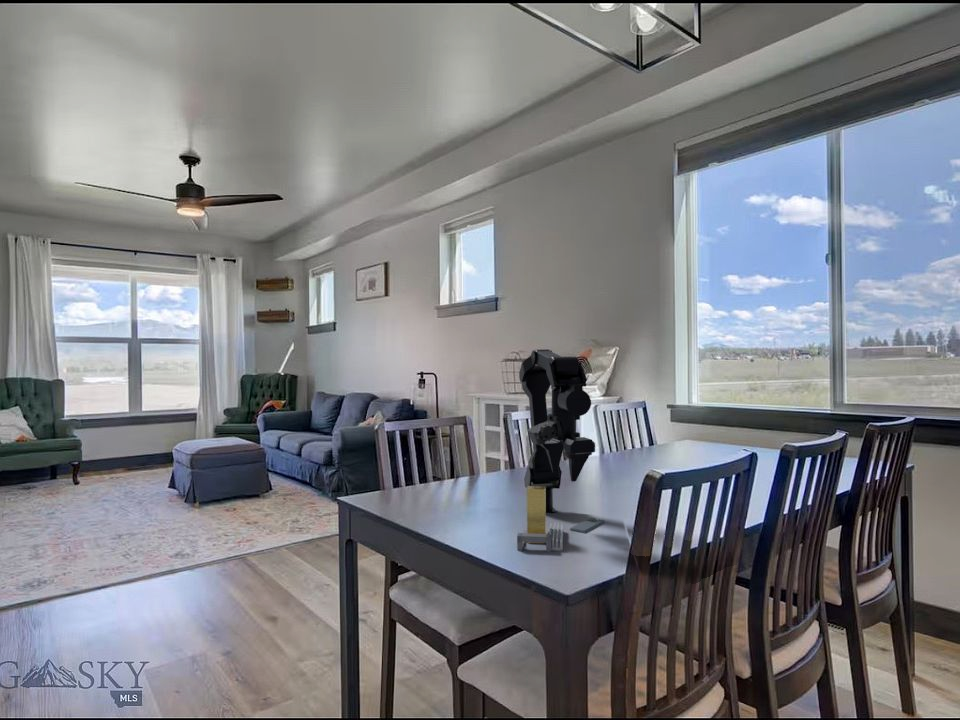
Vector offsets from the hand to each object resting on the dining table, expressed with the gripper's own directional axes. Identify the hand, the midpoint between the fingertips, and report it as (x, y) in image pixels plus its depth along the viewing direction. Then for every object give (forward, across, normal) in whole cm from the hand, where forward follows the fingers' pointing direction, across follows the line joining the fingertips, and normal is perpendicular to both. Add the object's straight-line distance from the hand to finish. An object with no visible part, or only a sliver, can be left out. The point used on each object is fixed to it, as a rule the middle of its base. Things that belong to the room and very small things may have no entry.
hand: (563, 476), depth 137 cm
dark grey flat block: (+14, +1, +6) cm, 15 cm away
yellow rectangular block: (+12, +5, -10) cm, 16 cm away
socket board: (+13, +6, -10) cm, 17 cm away
